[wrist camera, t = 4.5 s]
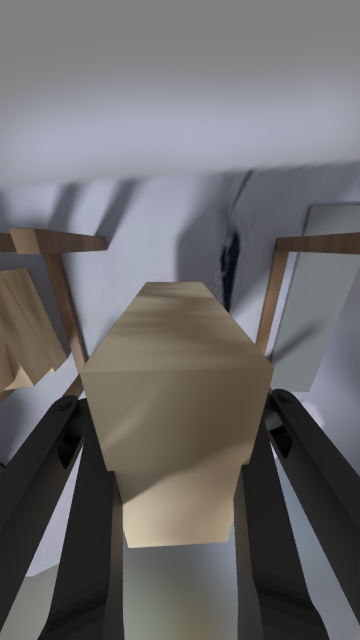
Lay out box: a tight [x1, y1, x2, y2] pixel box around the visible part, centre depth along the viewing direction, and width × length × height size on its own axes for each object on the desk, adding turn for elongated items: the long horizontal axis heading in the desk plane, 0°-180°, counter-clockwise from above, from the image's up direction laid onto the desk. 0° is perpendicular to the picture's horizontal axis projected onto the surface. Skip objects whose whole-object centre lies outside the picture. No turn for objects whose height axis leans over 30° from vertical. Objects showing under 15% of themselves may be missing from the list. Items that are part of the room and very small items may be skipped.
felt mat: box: [270, 205, 360, 392], centre depth 21 cm, size 7×24×1 cm, turn 0°
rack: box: [0, 229, 360, 444], centre depth 17 cm, size 34×18×10 cm, turn 90°
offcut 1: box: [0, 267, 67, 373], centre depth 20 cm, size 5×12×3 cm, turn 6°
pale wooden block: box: [79, 282, 275, 548], centre depth 12 cm, size 5×11×12 cm, turn 0°
